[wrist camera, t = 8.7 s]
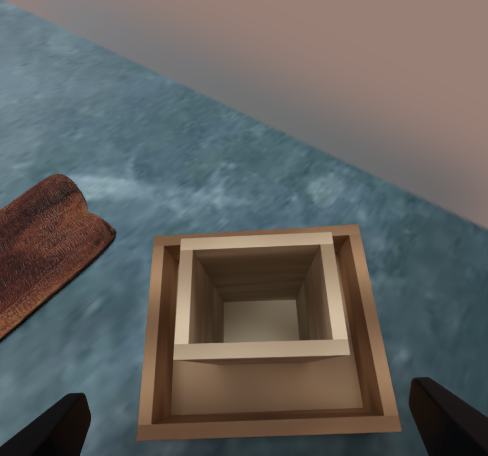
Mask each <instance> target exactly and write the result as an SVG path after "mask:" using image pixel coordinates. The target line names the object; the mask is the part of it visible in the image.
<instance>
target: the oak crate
mask: <svg viewBox="0 0 488 456" xmlns="http://www.w3.org/2000/svg"><path fill="white" fill-rule="evenodd" d="M320 232H332V238H333V245H334V252H335V258H336V265H337V271H338V278H339V284H340V291H341V298H342V304H343V311H344V317H345V324H346V330H347V337H348V344H349V350H350V355H347V356H341V357H336V358H330V359H324V360H319V361H313V362H302V363H264V364H227V365H215V364H206V363H197V362H188V361H179V360H173V355H174V340H175V324H176V309H177V293H178V278H179V263H180V247H181V239H186V238H208V237H230V236H253V235H275V234H297V233H320ZM377 432H402V430H401V425H400V420H399V416H398V411H397V406H396V401H395V397H394V392H393V387H392V382H391V378H390V373H389V368H388V364H387V359H386V354H385V349H384V345H383V340H382V335H381V330H380V326H379V321H378V316H377V311H376V307H375V302H374V297H373V292H372V288H371V283H370V278H369V273H368V269H367V264H366V259H365V254H364V250H363V245H362V240H361V235H360V231H359V226H358V224H356V225H340V226H323V227H306V228H289V229H273V230H256V231H239V232H222V233H206V234H189V235H172V236H155V237H154V246H153V257H152V269H151V280H150V292H149V303H148V315H147V326H146V338H145V349H144V361H143V372H142V384H141V395H140V407H139V418H138V430H137V441H149V440H178V439H206V438H235V437H263V436H292V435H320V434H349V433H377Z"/></svg>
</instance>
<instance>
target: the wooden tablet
mask: <svg viewBox="0 0 488 456" xmlns="http://www.w3.org/2000/svg"><path fill="white" fill-rule="evenodd" d="M114 237H115V230H114V228H113V227H112V226H111V225H110V224H108V223H107V222H106V221H104V220H103V219H102V218H100V217H98V216H97V215H95V214H92V213H89V212H88V208H87V204H86V201H85V198H84V196H83V195H82V193H81V191H80V190H79V189H78V188H77V186H76V185H75V184H74V182H73V181H72V180H70V179H69V178H68V177H67V176H65V175H62V174H61V175H59V174H54V175H52V176H50V177H48V178H46V179H44V180H43V181H41V182H39V183H38V184H37V185H35V186H34V187H32V188H31V189H29V190H28V191H26V192H25V193H23V194H22V195H20V196H19V197H18V198H17V199H15V200H13V201H12V202H11V203H10V204H8V205H7V206H6V207H4V208H3V209H2V210H0V339H1V338H3V337H4V336H5V335H6V334H7V333H9V332H10V331H11V330H12V329H14V328H15V327H16V326H17V325H18V324H20V323H21V322H22V321H23V320H24V319H25V318H26V317H27V316H28V315H30V314H31V313H32V312H33V311H34V310H35V309H37V308H38V307H39V306H40V305H41V304H42V303H44V302H45V301H46V300H47V299H48V298H49V297H50V296H52V295H53V294H54V293H56V292H57V291H58V290H59V289H60V288H62V287H63V286H64V285H65V284H66V283H68V282H69V281H70V280H72V279H73V278H74V277H75V276H76V275H77V274H78V273H79V272H81V271H82V270H83V269H84V268H85V267H87V266H88V265H89V264H90V263H91V262H92V261H93V260H94V259H95V258H96V257H97V256H98V255H99V254H100V253H102V252H103V250H104V249H105V248H106V247H107V246H108V245H109V244H110V242H111V241H112V240H113V239H114Z"/></svg>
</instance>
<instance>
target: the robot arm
mask: <svg viewBox="0 0 488 456" xmlns="http://www.w3.org/2000/svg"><path fill="white" fill-rule="evenodd" d="M409 407H410V410H411V413H412V416H413V418H414V420H415V423H416V425H417V428H418V430H419V433H420V435H421V438H422V440H423V443H424V445H425V448H426V450H427V452H428V455H429V456H488V417H486V416H485V415H483V414H482V413H481V412H479V411H478V410H476V409H475V408H473V407H472V406H470V405H469V404H467V403H466V402H464V401H463V400H462V399H460V398H459V397H457V396H456V395H454V394H453V393H451V392H450V391H448V390H447V389H445V388H444V387H443V386H441V385H440V384H438V383H437V382H435V381H434V380H432V379H431V378H428V377H419V378H413V379H412V382H411V388H410V395H409ZM90 422H91V413H90V410H89V406H88V402H87V399H86V396H85V394H84V393H70V394H67V395H66V396H64V397H63V398H62V399H60V400H59V401H58V402H57V403H55V404H54V405H53V406H52V407H50V408H49V409H48V410H46V411H45V412H44V413H43V414H41V415H40V416H39V417H38V418H36V419H35V420H34V421H32V422H31V423H30V424H29V425H27V426H26V427H25V428H24V429H22V430H21V431H20V432H18V433H17V434H16V435H15V436H13V437H12V438H11V439H10V440H8V441H7V442H6V443H4V444H3V445H2V446H1V447H0V456H80V453H81V450H82V447H83V444H84V441H85V438H86V435H87V432H88V429H89V426H90Z"/></svg>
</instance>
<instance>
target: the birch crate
mask: <svg viewBox="0 0 488 456" xmlns="http://www.w3.org/2000/svg"><path fill="white" fill-rule="evenodd" d="M347 355H350V350H349V344H348V337H347V330H346V324H345V317H344V311H343V304H342V298H341V291H340V284H339V278H338V271H337V265H336V258H335V252H334V245H333V238H332V232H320V233H297V234H275V235H253V236H230V237H208V238H186V239H181V247H180V263H179V278H178V293H177V309H176V324H175V340H174V355H173V360H179V361H188V362H197V363H206V364H215V365H227V364H264V363H302V362H313V361H319V360H324V359H330V358H336V357H341V356H347Z"/></svg>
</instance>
